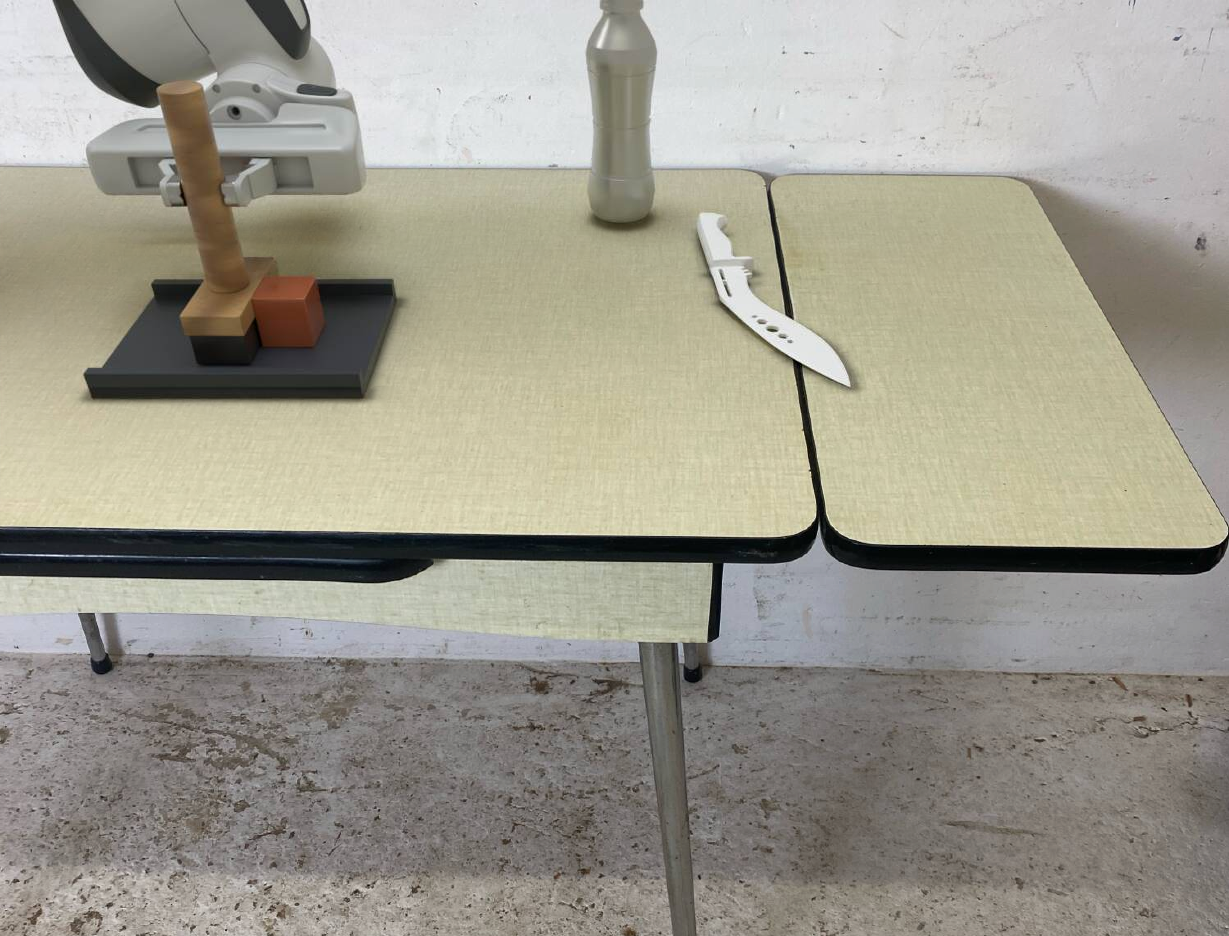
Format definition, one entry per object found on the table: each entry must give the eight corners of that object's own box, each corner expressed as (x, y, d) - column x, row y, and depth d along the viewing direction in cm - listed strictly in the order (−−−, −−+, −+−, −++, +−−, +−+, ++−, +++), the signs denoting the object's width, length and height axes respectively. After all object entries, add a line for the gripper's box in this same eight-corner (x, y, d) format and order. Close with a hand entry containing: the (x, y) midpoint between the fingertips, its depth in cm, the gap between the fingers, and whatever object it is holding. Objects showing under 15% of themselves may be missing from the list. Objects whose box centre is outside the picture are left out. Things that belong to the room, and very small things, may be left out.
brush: (193, 365, 80) (119, 111, 68) (231, 303, 88) (171, 65, 76) (251, 366, 80) (188, 111, 68) (285, 303, 88) (233, 65, 76)
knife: (855, 377, 79) (751, 380, 79) (851, 396, 80) (749, 400, 80) (775, 208, 101) (693, 210, 100) (773, 226, 102) (692, 227, 101)
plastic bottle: (659, 206, 106) (665, -24, 93) (648, 233, 101) (653, -6, 88) (595, 202, 107) (591, -27, 94) (581, 229, 102) (576, -9, 89)
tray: (91, 398, 79) (82, 374, 78) (161, 301, 91) (154, 278, 90) (363, 398, 79) (358, 373, 78) (396, 301, 91) (393, 278, 90)
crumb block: (262, 347, 83) (250, 298, 80) (275, 323, 86) (264, 275, 83) (314, 347, 83) (304, 298, 80) (325, 323, 86) (316, 275, 83)
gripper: (112, 90, 85) (41, 150, 74) (371, 90, 85) (336, 150, 74) (136, 172, 89) (72, 240, 79) (383, 172, 89) (351, 239, 78)
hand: (202, 196), depth 76 cm, fingers closed on brush, 3 cm apart
